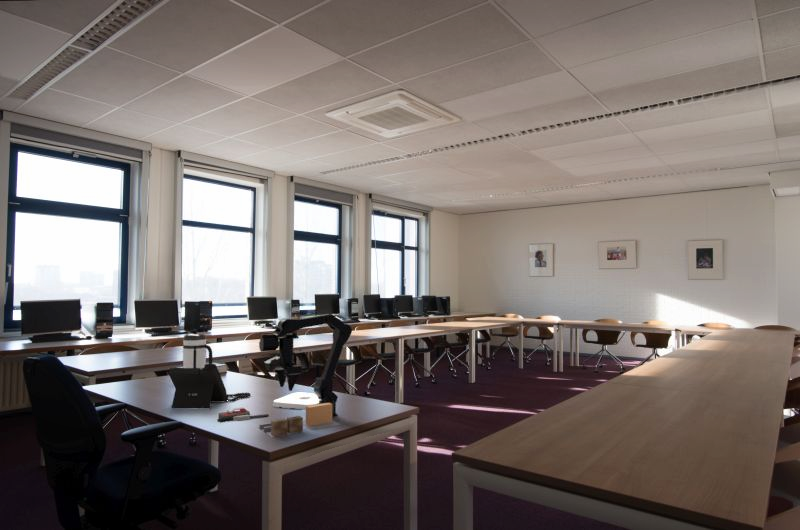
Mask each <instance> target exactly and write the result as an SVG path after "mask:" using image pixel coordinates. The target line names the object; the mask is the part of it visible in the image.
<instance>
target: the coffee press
mask: <svg viewBox="0 0 800 530" xmlns="http://www.w3.org/2000/svg"><path fill="white" fill-rule="evenodd" d="M192 332H193V333H187V334H185V335H184V336H183V338H182V341H183V344H182V368H200V369H202V368H204V366H205V364H207V352H208V363H213V350H212V347H211V346H210V345H208V344H207V340H208V338H207V336H206V334H205V333H202V332H200V333H199V332H198V330H197V329H196V328H194V329H192Z"/></svg>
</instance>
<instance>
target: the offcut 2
mask: <svg viewBox="0 0 800 530" xmlns="http://www.w3.org/2000/svg"><path fill="white" fill-rule="evenodd" d="M286 420H287V432H288V433H293V434H296V433H295V432H298V433H302V432H301V431H303V430H304V428H303V427H304V425H303V421H304V418H303V416H301V415H296V416H291V417H287V418H286Z"/></svg>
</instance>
